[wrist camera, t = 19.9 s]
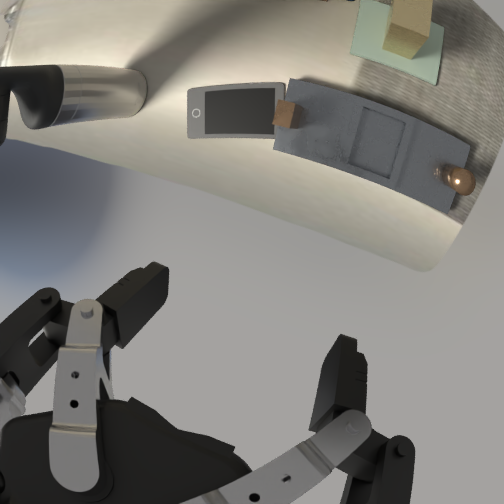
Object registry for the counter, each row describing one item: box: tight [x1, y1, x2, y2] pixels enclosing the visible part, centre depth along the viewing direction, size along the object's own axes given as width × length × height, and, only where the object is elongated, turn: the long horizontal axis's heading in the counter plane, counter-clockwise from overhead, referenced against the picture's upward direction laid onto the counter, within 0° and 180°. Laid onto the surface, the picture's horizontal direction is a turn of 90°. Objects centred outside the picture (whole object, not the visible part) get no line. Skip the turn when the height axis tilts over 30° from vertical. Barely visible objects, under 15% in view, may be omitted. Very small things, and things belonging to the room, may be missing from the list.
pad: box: [350, 0, 444, 86], centre depth 24 cm, size 12×10×1 cm
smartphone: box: [187, 82, 284, 139], centre depth 36 cm, size 15×8×1 cm, turn 89°
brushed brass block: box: [382, 0, 433, 60], centre depth 19 cm, size 4×6×10 cm, turn 167°
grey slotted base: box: [272, 78, 476, 214], centre depth 28 cm, size 25×10×7 cm, turn 77°
